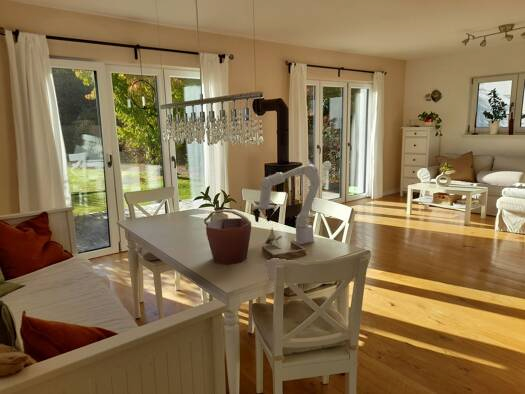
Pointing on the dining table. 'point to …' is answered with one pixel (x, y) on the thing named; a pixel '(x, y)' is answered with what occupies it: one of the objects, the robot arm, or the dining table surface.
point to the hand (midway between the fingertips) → (262, 221)
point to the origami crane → (273, 239)
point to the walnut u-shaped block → (296, 252)
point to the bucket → (228, 238)
